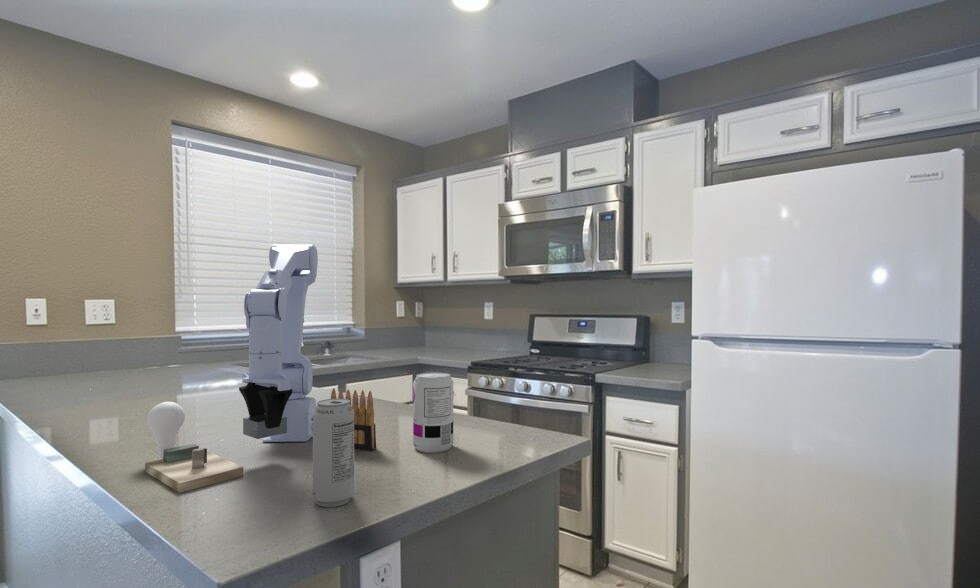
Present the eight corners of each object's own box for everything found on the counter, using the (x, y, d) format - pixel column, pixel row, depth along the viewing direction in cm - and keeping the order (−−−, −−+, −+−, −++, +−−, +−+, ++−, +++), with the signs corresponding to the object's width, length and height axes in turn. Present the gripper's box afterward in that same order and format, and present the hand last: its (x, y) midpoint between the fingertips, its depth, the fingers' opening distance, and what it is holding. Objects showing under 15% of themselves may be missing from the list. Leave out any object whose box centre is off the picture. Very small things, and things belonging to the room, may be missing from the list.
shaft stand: (144, 471, 90) (144, 445, 90) (204, 457, 98) (204, 434, 98) (179, 492, 80) (179, 464, 80) (243, 475, 88) (243, 449, 88)
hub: (243, 434, 95) (243, 418, 95) (271, 428, 99) (271, 412, 99) (257, 439, 91) (257, 422, 91) (286, 432, 96) (286, 416, 96)
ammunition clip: (376, 448, 104) (376, 390, 104) (371, 451, 102) (371, 391, 102) (332, 444, 107) (332, 387, 107) (326, 446, 106) (327, 388, 106)
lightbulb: (166, 465, 93) (166, 405, 93) (138, 463, 94) (139, 404, 95) (192, 455, 99) (192, 399, 99) (165, 453, 100) (166, 398, 101)
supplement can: (405, 451, 102) (405, 376, 102) (425, 440, 110) (425, 371, 110) (441, 455, 99) (441, 379, 99) (459, 444, 107) (459, 373, 107)
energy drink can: (334, 490, 81) (334, 396, 81) (362, 497, 78) (362, 400, 78) (303, 503, 76) (304, 403, 76) (332, 511, 73) (332, 407, 73)
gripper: (226, 351, 97) (226, 422, 97) (263, 357, 88) (263, 435, 88) (262, 348, 102) (262, 416, 102) (301, 353, 93) (300, 427, 93)
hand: (265, 424), depth 95 cm, fingers closed on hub, 6 cm apart
